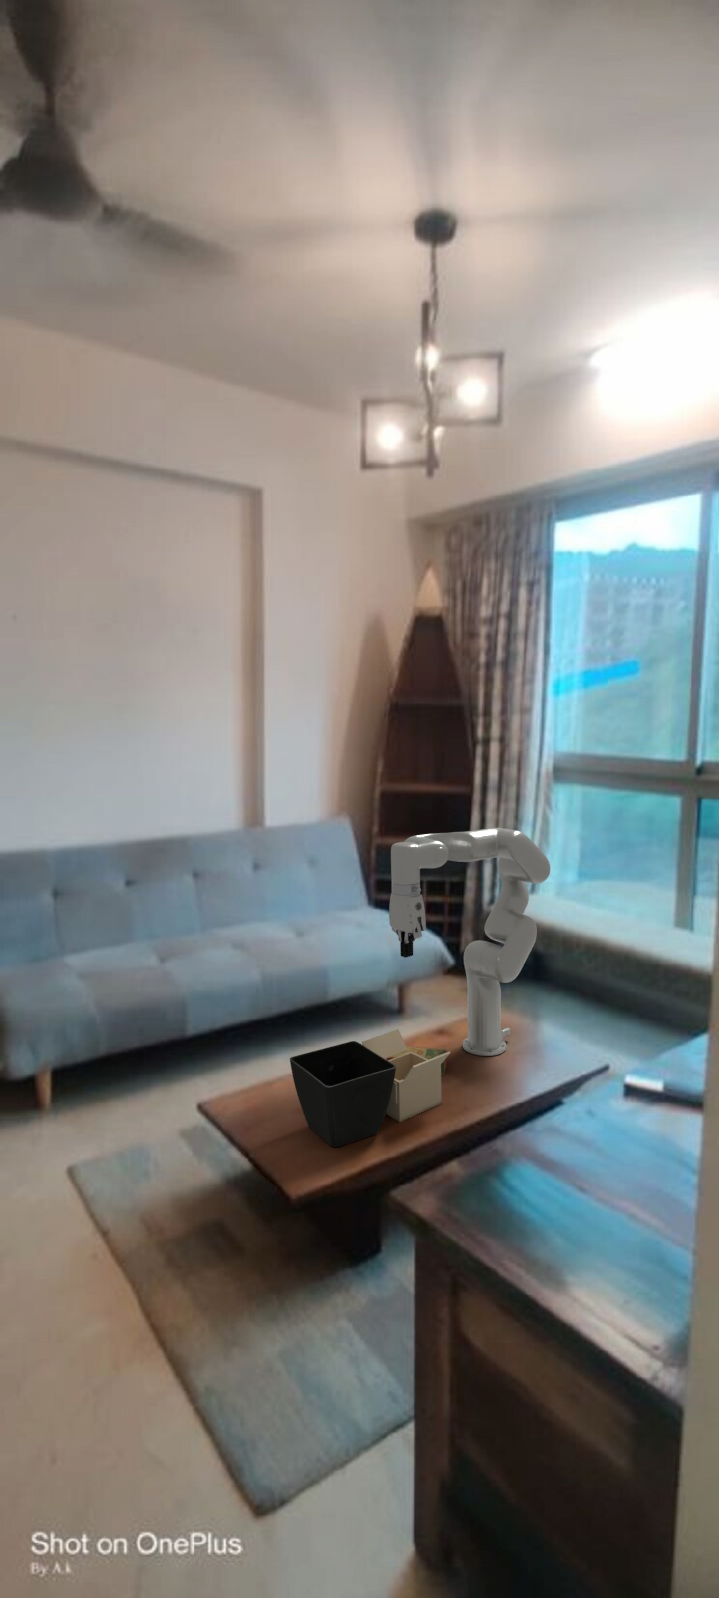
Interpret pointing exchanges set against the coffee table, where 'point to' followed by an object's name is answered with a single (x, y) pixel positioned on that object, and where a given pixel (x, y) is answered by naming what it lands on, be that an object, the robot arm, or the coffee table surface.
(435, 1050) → the carton
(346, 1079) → the flower pot
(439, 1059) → the near flap
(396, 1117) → the shipping box
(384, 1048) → the far flap
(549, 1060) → the coffee table surface
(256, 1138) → the coffee table surface
